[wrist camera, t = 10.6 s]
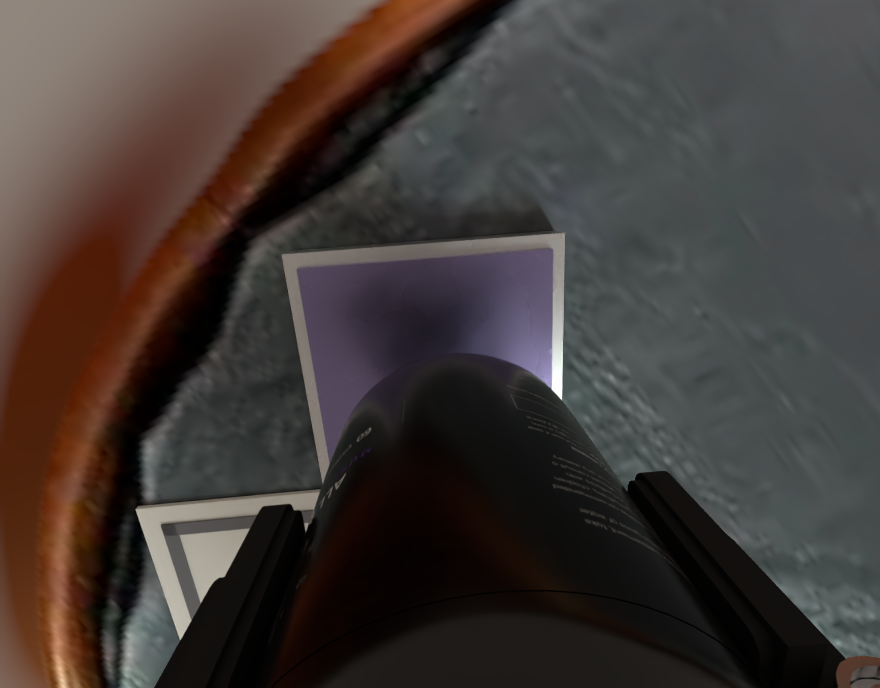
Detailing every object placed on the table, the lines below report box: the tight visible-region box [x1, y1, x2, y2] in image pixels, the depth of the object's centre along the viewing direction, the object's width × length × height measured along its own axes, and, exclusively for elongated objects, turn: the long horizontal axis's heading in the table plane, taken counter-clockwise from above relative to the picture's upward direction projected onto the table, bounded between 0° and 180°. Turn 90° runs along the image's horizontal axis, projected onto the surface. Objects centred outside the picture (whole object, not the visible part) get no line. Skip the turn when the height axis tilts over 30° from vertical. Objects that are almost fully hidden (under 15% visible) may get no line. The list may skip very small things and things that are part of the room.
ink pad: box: [282, 230, 565, 483], centre depth 18 cm, size 10×10×2 cm
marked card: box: [136, 489, 321, 640], centre depth 22 cm, size 13×13×1 cm
